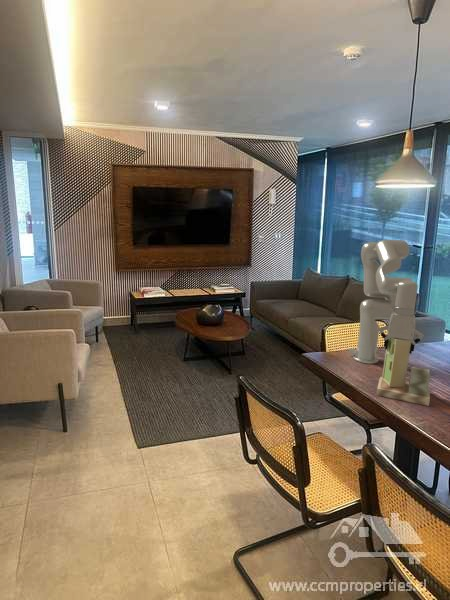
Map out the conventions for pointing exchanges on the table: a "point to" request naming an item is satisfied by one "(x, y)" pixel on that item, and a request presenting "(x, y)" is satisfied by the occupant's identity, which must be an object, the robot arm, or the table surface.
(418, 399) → the board
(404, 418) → the table surface
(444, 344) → the table surface
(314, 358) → the table surface
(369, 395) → the table surface
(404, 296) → the robot arm
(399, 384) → the toy refrigerator
